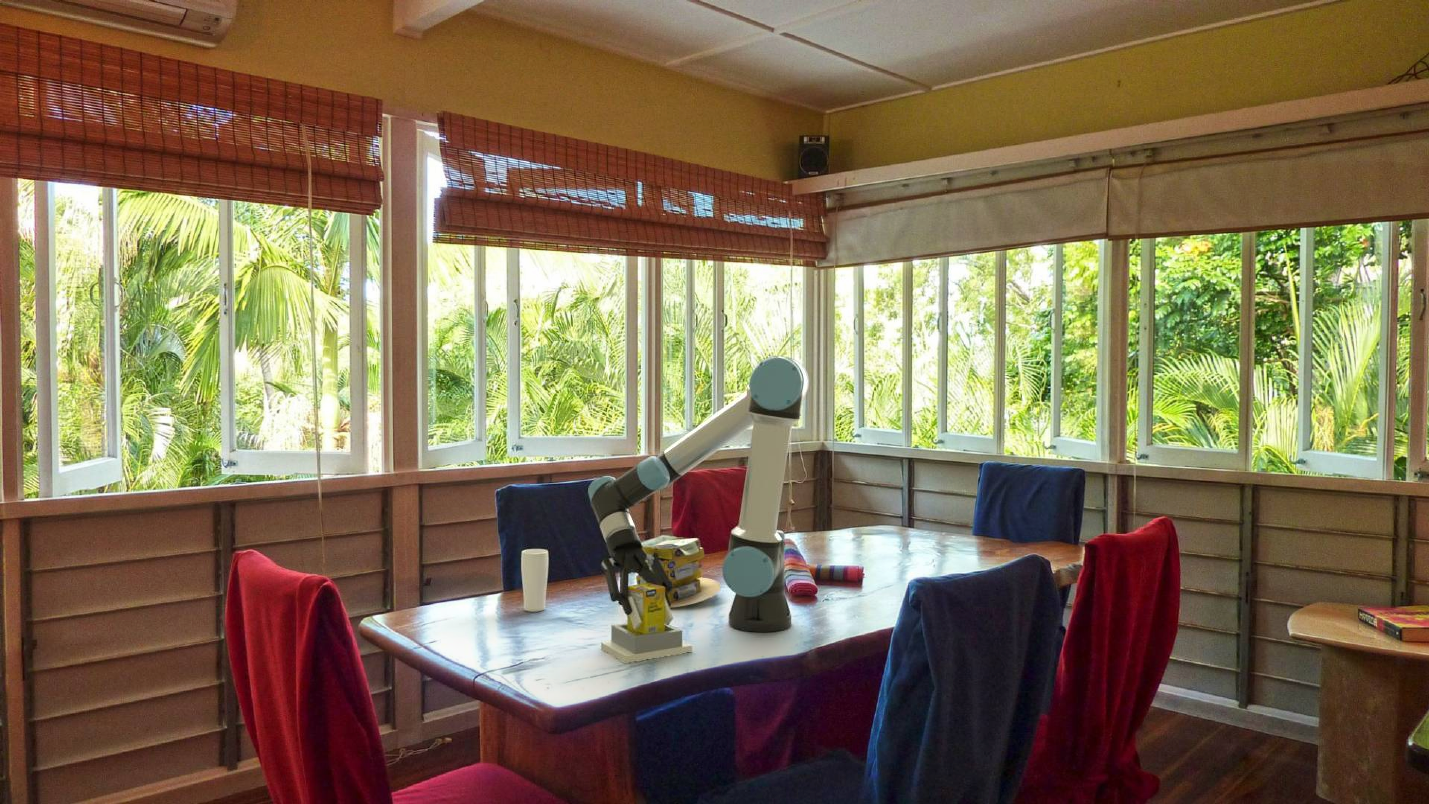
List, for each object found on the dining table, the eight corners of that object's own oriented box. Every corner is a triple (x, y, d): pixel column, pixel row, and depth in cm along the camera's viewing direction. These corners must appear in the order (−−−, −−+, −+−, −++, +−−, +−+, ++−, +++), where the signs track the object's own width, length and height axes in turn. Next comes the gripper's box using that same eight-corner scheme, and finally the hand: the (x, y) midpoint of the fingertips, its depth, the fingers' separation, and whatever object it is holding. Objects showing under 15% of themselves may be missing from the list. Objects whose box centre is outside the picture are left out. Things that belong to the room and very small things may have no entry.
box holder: (665, 638, 217) (665, 617, 217) (692, 652, 207) (692, 629, 207) (601, 649, 209) (601, 626, 208) (625, 663, 198) (625, 639, 198)
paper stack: (654, 614, 239) (654, 548, 239) (613, 594, 261) (614, 533, 260) (737, 603, 252) (738, 540, 251) (692, 584, 273) (693, 526, 273)
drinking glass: (553, 609, 243) (553, 551, 242) (531, 614, 238) (531, 554, 237) (537, 605, 247) (537, 547, 247) (515, 609, 242) (515, 551, 242)
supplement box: (665, 636, 208) (665, 586, 207) (644, 641, 203) (645, 590, 203) (647, 630, 212) (647, 581, 212) (626, 635, 208) (627, 585, 207)
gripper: (654, 543, 225) (687, 627, 212) (576, 550, 215) (606, 639, 202) (665, 523, 221) (700, 608, 207) (585, 530, 210) (617, 620, 197)
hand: (653, 623), depth 204 cm, fingers closed on supplement box, 7 cm apart
